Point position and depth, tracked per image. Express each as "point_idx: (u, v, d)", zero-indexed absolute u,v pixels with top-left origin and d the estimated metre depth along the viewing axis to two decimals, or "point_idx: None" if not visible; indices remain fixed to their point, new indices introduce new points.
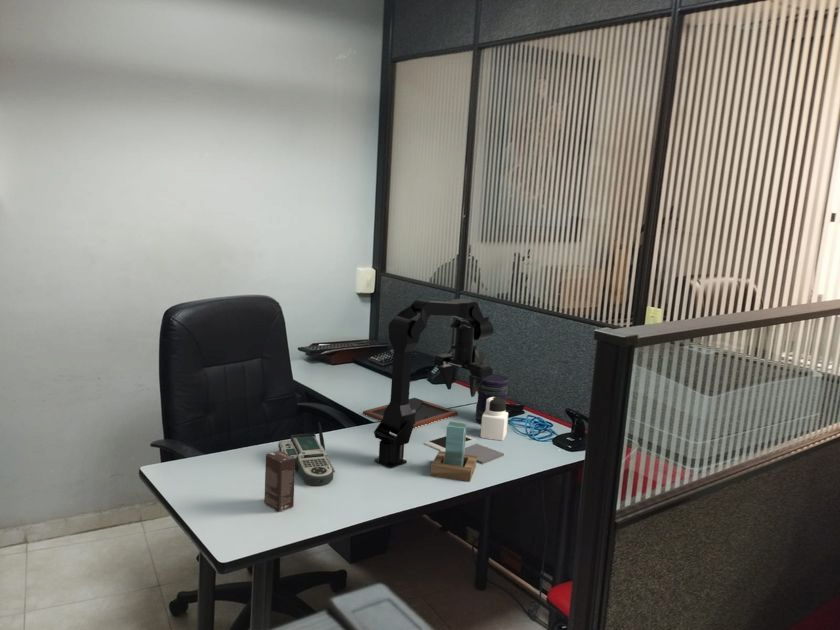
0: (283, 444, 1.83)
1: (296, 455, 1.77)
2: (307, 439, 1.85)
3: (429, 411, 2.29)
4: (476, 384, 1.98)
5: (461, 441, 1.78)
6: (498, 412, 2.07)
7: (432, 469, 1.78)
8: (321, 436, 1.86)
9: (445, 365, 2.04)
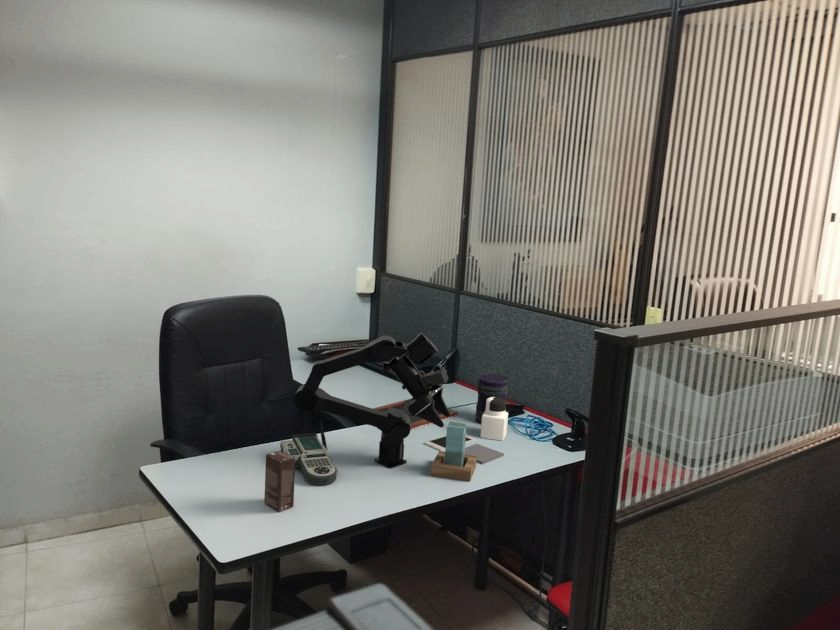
0: (285, 444, 1.83)
1: (298, 455, 1.77)
2: (309, 438, 1.85)
3: None
4: (432, 416, 1.75)
5: (461, 441, 1.78)
6: (498, 412, 2.07)
7: (432, 469, 1.78)
8: (323, 435, 1.86)
9: None
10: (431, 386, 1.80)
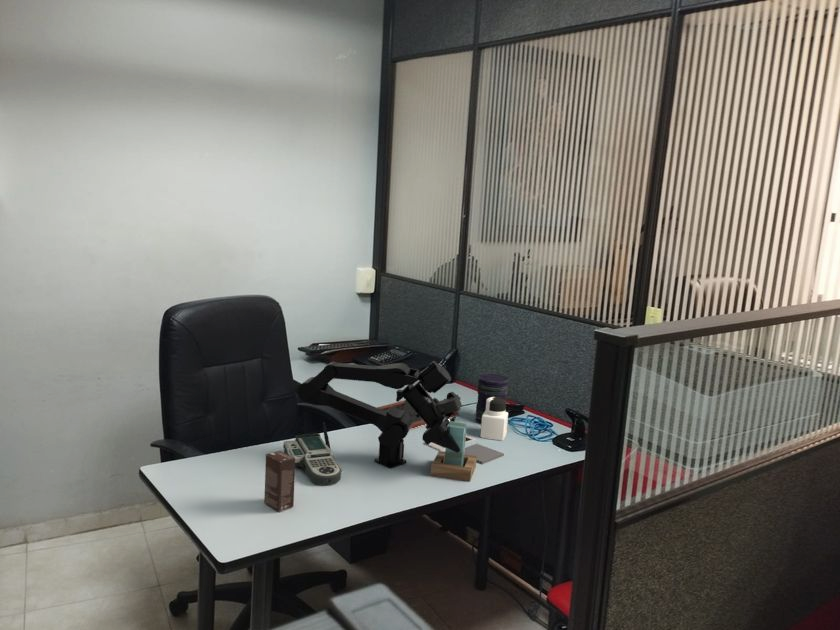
0: (288, 444, 1.83)
1: (302, 455, 1.77)
2: (312, 439, 1.85)
3: None
4: (448, 441, 1.77)
5: (461, 441, 1.78)
6: (498, 412, 2.07)
7: (432, 469, 1.78)
8: (326, 435, 1.87)
9: None
10: None
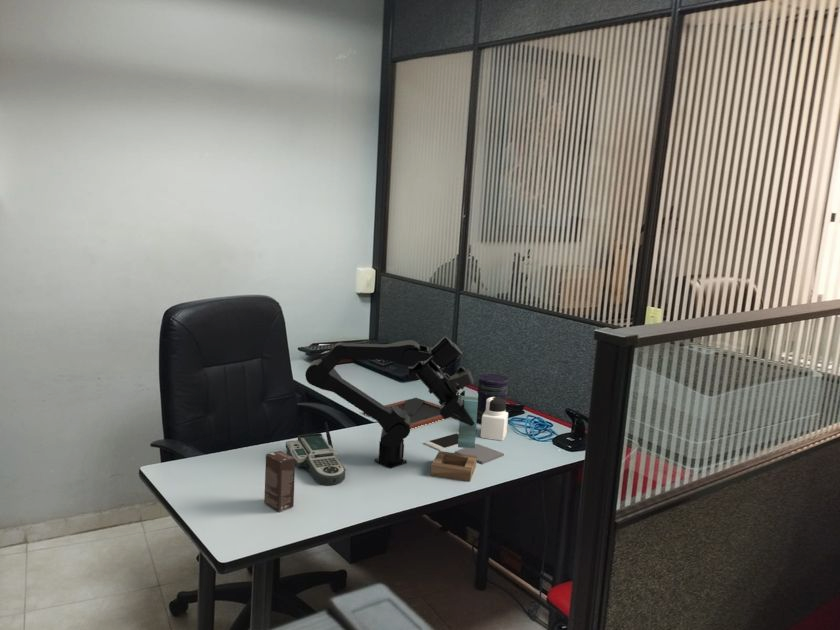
0: (291, 444, 1.83)
1: (306, 455, 1.77)
2: (315, 438, 1.85)
3: (430, 411, 2.29)
4: (462, 415, 1.78)
5: (475, 414, 1.79)
6: (498, 412, 2.07)
7: (432, 469, 1.78)
8: (329, 435, 1.87)
9: None
10: (457, 388, 1.81)
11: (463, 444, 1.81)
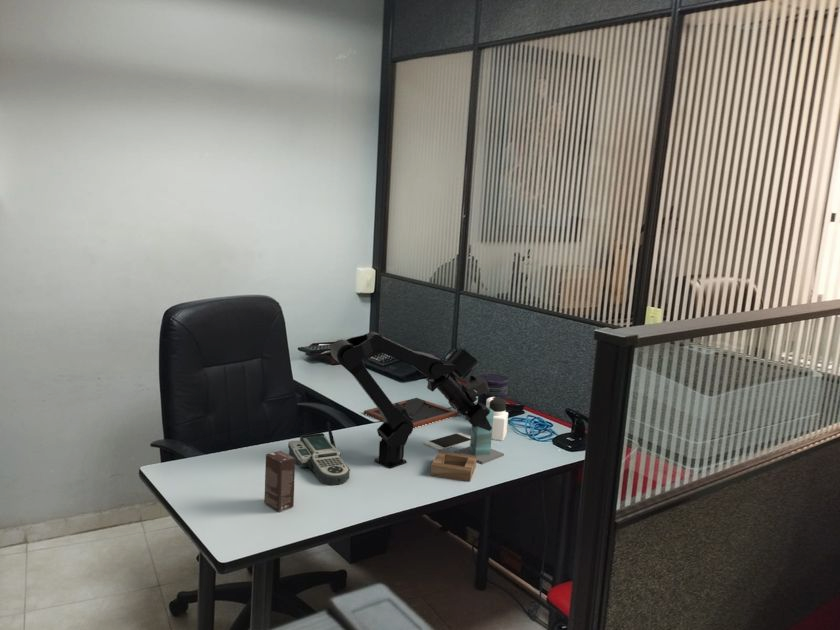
0: (294, 444, 1.83)
1: (309, 455, 1.78)
2: (317, 438, 1.86)
3: (430, 411, 2.29)
4: (483, 422, 1.88)
5: (491, 423, 1.92)
6: (498, 412, 2.07)
7: (432, 469, 1.78)
8: (331, 435, 1.87)
9: None
10: None
11: (480, 452, 1.92)
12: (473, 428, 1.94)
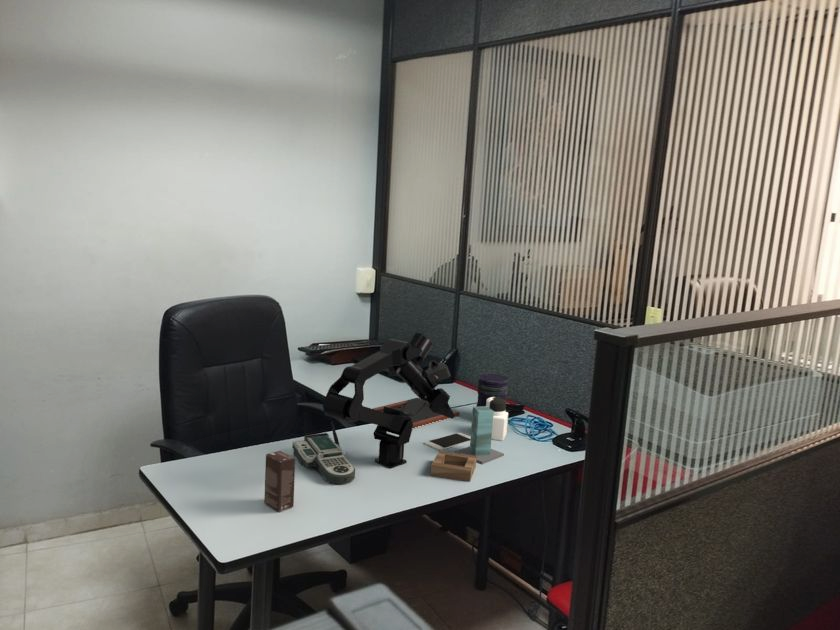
0: (299, 444, 1.83)
1: (314, 455, 1.78)
2: (322, 438, 1.86)
3: (431, 411, 2.29)
4: (445, 409, 1.85)
5: (491, 423, 1.92)
6: (499, 412, 2.07)
7: (432, 469, 1.78)
8: (336, 435, 1.88)
9: None
10: None
11: (480, 452, 1.92)
12: (473, 428, 1.94)
